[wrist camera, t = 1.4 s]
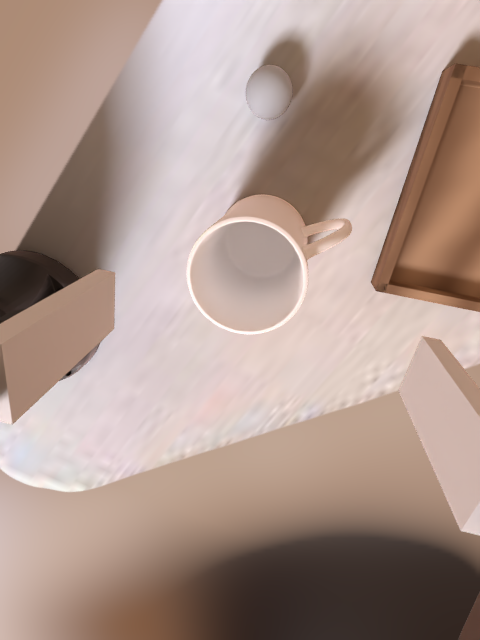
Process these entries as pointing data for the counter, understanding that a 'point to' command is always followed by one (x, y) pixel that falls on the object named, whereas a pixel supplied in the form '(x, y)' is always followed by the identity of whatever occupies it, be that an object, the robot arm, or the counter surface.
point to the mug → (256, 264)
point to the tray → (440, 203)
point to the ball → (269, 92)
